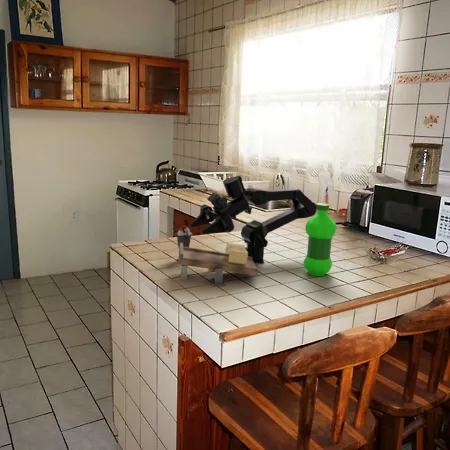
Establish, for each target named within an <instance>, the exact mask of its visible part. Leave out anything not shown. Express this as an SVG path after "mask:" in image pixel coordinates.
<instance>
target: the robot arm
mask: <svg viewBox="0 0 450 450" xmlns="http://www.w3.org/2000/svg"><path fill="white" fill-rule="evenodd" d="M243 182H244V181H243V178H242V176H241V175H236V176H232V177H227V178H226V179H224V180H223V181H222V183H223V187H224V189H225V192H226V195H227V197H226V196H224V195H219V194H218V193H216V192H212V193H211V194H210V195H209V196H208V197H207V198H206V199H207V200H208V201H209V202H210V203H211V205H212V206H210V205H208V204H205V203H204V204H202V205H201V206H199V207H200V209H199V210H200V213H199V214H198V216H197V217H196V218H195V219H194V220H193V221H192V222H191V223H190V226H191V227H193V228H194V227H199V226H204V225H208V226H206V227H205V228H203V229H202V230H201V233H202V234H214V233H231V232H233V231H234V230H235V227H236V226H235V223H234V222H233V220H236V219H237V216H238V215H240V214H241V213H245V214H248V215H251V214H252V210H253V207H251V205H254V206H261V205H265V204H267V203H269V202H273V201H275V202H276V201H287V200H289V201H291V204H292V206H291V208H289V209H287V210H286V211H283V212H281V213H279V214H277V215H274V216H272V217H271V218H268V219H266V220H264V221H262V222H261V221H258V220H255V219H254V220H252V221H250V222H248V223H245V225H244V226H243V227H242V229H241V232H240V236H241V238H242V239H243V242H244V243H245V244H246V247H245V248H246V250H247V252H248V256H249V257H253V262H254V264H255V263H256V264H257V263H258V264H259V263H260V264H261V263H263V264H264V263H265V260H264V256H265V254H264V252H265V248H267V246H268V244H269V241H268V240H267V239H266V237H267V235H268V234H270V233H271V232H273V231H275V230H277V229H280V228H281V227H283V226H285V225H288V224H290V223H292V222H294V221H297V220H298V219H308V218H312V217H314V216H315V215H317V211H318V210H317V209H316V207H317V203H315V202H313V201H312V200H311V199H310V198H309V197H308V196H307V195H306V194H304V192H303V191H302V190H301V189H299V188H295V187H291V188H284V189H283V188H282V189H281V188H279V189H261V188H257V187H248V188H245V186H244V183H243ZM228 198H230V199H231V200H230V201H229V199H228ZM250 204H251V205H250Z"/></svg>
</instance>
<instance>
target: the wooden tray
mask: <svg viewBox="0 0 450 450" xmlns="http://www.w3.org/2000/svg"><path fill="white" fill-rule="evenodd" d="M178 258H179V261H178V265H180V266H181V265H186V266H187V267H194V268H201V269H208V270H209V269H214V270H213V271H215V268H223V272H230V273H236V274H243V275H250V276H257V277H258V275H259V270H260V269H259V267H257V266H256V264H255V263H254V262H253V257H249V256H248V257H247V262H246V266H242V265H235V264H229V263H227V262H226V259H225V252H222V251H216V250H215V251H214V250H209V249H208V250H207V249H204V248H203V249H201V248H195V247H190V246H189V247H183V243H181V242H180V247H179V248H178Z"/></svg>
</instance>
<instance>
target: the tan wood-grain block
mask: <svg viewBox="0 0 450 450" xmlns="http://www.w3.org/2000/svg"><path fill="white" fill-rule="evenodd" d="M224 253H225V259H226V262H227V263H229V264H235V265H242V266H246V262H247V257H248V252H247V250H246V247H245V244H239V243H234V242H227V243H226V246H225V251H224Z"/></svg>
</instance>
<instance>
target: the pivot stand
mask: <svg viewBox="0 0 450 450" xmlns="http://www.w3.org/2000/svg"><path fill="white" fill-rule="evenodd" d="M208 270H209V271H214V280H211V285H212V287H226V282H225V280H223V277H224V276H223V275H224V273H223V272H224V271H223V268H215V270H214V269H208ZM180 279H181V280H188V266H186V265H180Z"/></svg>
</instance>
